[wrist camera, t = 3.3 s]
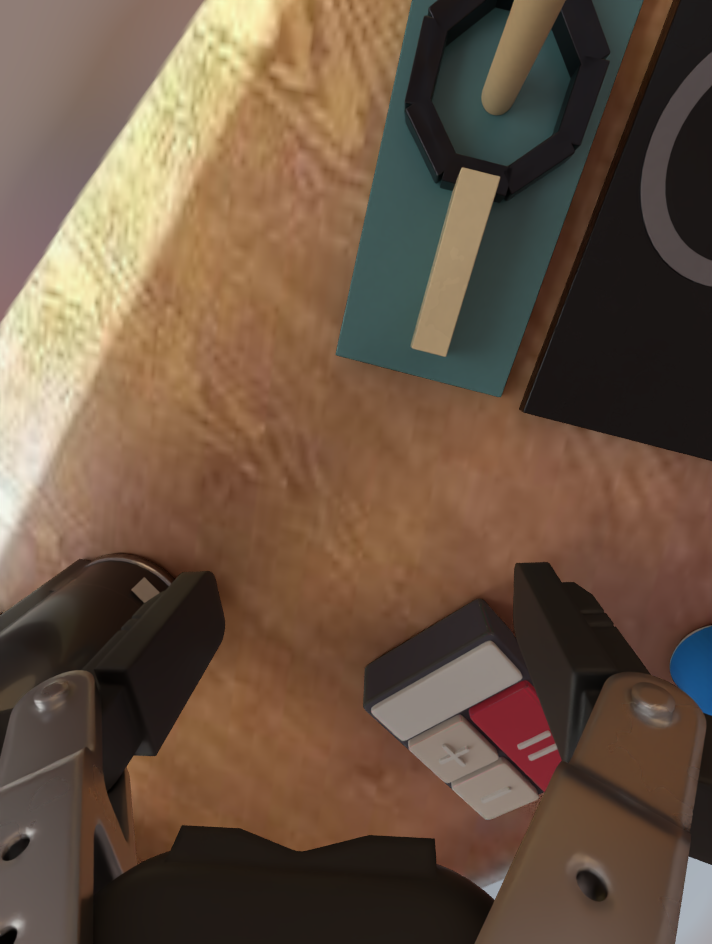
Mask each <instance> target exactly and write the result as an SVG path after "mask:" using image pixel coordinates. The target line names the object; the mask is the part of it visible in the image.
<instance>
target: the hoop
mask: <svg viewBox="0 0 712 944" xmlns="http://www.w3.org/2000/svg"><path fill="white" fill-rule="evenodd" d="M513 2H514V0H437V1H436V2H435V3H433V4H432V5H431V6H430V7H429V8H428V16H424V18H423V21H422V26H421V30H420V35H419V39H418V44H417V48H416V52H415V57H414V61H413V66H412V70H411V75H410V79H409V84H408V88H407V92H406V97H405V106H404V113H405V123H406V125H407V127H408V129H409V131H410V133H411V135H412V137H413V139H414V141H415V143H416V145H417V147H418V149H419V151H420V154H421V156H422V158H423V160H424V162H425V164H426V166H427V168H428V170H429V172H430V174H431V176H432V178H433V180H434V182H435V183H438V182H439V181H441V183H440V188H442V189H446V190H450V191H453V192H452V196H451V199H450V203H449V207H448V210H447V214H446V218H445V221H444V225H443V228H442V232H441V236H440V239H439V243H438V247H437V250H436V254H435V258H434V261H433V265H432V269H431V272H430V276H429V280H428V283H427V287H426V291H425V294H424V298H423V302H422V305H421V309H420V313H419V316H418V320H417V324H416V327H415V331H414V335H413V338H412V342H411V347H412V348H413V349H416V350H420V351H424V352H428V353H432V354H436V355H439V356H443V357H446V355H447V352H448V349H449V345H450V342H451V339H452V336H453V332H454V329H455V326H456V322H457V319H458V316H459V313H460V309H461V306H462V303H463V299H464V296H465V293H466V289H467V286H468V283H469V280H470V276H471V273H472V270H473V266H474V263H475V260H476V257H477V253H478V250H479V247H480V243H481V240H482V237H483V234H484V230H485V227H486V224H487V220H488V217H489V214H490V211H491V207H492V204H493V201H494V202H498V203H500V202H501V201H502V200H503V199H505V201H508V200H510V199H511V198H513V197H514V196H516V195H517V194H519V193H520V192H522V191H523V190H525V189H526V188H528V187H529V186H531V185H532V184H533V183H535V182H536V181H538V180H539V179H541V178H542V177H544V176H545V175H547V174H548V173H550V172H551V171H553V170H554V169H556V168H557V167H559V166H560V165H562V164H563V163H565V162H566V161H567V160H568V159H569V158H570V157H571V156H572V155H573V154H574V153H575V150H576V149H577V148H578V147H579V146H580V145H581V143H582V140H583V137H584V134H585V131H586V129H587V126H588V123H589V120H590V117H591V114H592V111H593V109H594V106H595V103H596V100H597V97H598V94H599V92H600V89H601V86H602V83H603V80H604V77H605V75H606V72H607V69H608V66H609V63H610V61H609V60H606V58H607V57H608V55H609V54H610V49H609V46H608V43H607V41H606V38H605V35H604V32H603V30H602V27H601V24H600V21H599V19H598V16H597V13H596V10H595V7H594V5H593V2H592V0H566V1H565V3H564V5H563V7H562V9H561V11H560V12H559V14H558V16H557V18H556V20H555V22H554V24H553V26H552V28H551V29H552V32H553V34H554V37H555V39H556V42H557V45H558V47H559V50H560V52H561V55H562V58H563V60H564V63H565V65H566V68H567V70H568V73H569V76H570V78H571V79H570V82H569V85H568V88H567V91H566V94H565V97H564V100H563V103H562V106H561V109H560V112H559V115H558V118H557V121H556V124H555V128H554V131H553V134H552V136H550V137H549V138H548V139H546V140H545V141H543V142H542V143H540V144H539V145H537V146H536V147H535V148H533V149H532V150H530V151H529V152H527V153H526V154H524V155H523V156H521V157H520V158H519V159H517V160H516V161H514V162H513V163H511V164H510V165H508V166H505V165H501V164H497V163H493V162H489V161H485V160H481V159H477V158H473V157H469V156H465V155H461V154H457V153H456V152H455V150H454V148H453V145H452V143H451V141H450V139H449V137H448V135H447V132H446V130H445V128H444V126H443V124H442V122H441V120H440V117H439V115H438V113H437V111H436V109H435V107H434V104H433V102H432V100H433V96H434V91H435V87H436V83H437V79H438V75H439V71H440V67H441V63H442V59H443V55H444V50H445V47H446V46H447V45H449V44H450V43H451V42H452V41H454V40H455V39H456V38H457V37H459V36H460V35H461V34H462V33H464V32H465V31H466V30H467V29H469V28H470V27H471V26H472V25H474V24H475V23H476V22H477V21H479V20H480V19H481V18H483V17H484V16H485V15H486V14H488V13H489V12H490V11H491V10H493V9H494V8H499V9H503V10H507V11H511V8H512V5H513Z"/></svg>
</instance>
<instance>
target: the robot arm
mask: <svg viewBox="0 0 712 944" xmlns="http://www.w3.org/2000/svg"><path fill="white" fill-rule="evenodd" d="M513 623H514V631H515V635H516V639H517V643H518V645H519V648H520V651H521V653H522V656H523V659H524V661H525V664H526V667H527V669H528V672H529V675H530V677H531V680H532V683H533V685H534V688H535V691H536V693H537V696H538V699H539V701H540V704H541V706H542V709H543V712H544V714H545V717H546V720H547V722H548V725H549V728H550V730H551V733H552V736H553V738H554V741H555V744H556V746H557V749H558V752H559V754H560V757H561V760H562V761H561V762H560V763H559V764H558V766H557V768H556V769H555V771H554V773H553V775H552V778H551V780H550V782H549V784H548V786H547V788H546V790H545V793H544V795H543V797H542V799H541V801H540V803H539V806H538V808H537V810H536V812H535V814H534V816H533V819H532V821H531V823H530V825H529V827H528V829H527V832H526V834H525V836H524V838H523V840H522V842H521V845H520V847H519V849H518V851H517V853H516V855H515V857H514V860H513V862H512V864H511V866H510V868H509V870H508V873H507V875H506V877H505V879H504V881H503V883H502V886H501V888H500V890H499V892H498V894H497V896H496V899H495V900H494V899H493V898H492V897H491V896H489V894H487V893H486V892H485V891H484V890H483V889H481V888H480V887H478V886H477V885H476V884H474V883H473V882H472V881H470V880H469V879H467V878H465V877H464V876H462V875H460V874H458V873H456V872H454V871H453V870H451V869H448V868H446V867H443V866H441V865H438V864H436V851H435V839H431V838H412V837H393V836H374V835H368V836H364V837H360V838H356V839H352V840H348V841H344V842H340V843H336V844H332V845H328V846H324V847H320V848H316V849H312V850H308V851H295V850H292V849H289V848H287V847H284V846H282V845H279V844H277V843H275V842H272V841H270V840H267V839H265V838H262V837H260V836H257V835H255V834H253V833H250V832H248V831H245V830H243V829H240V828H223V827H204V826H185V825H182V826H181V828H180V831H179V833H178V835H177V837H176V840H175V842H174V844H173V846H172V849H171V851H169V852H165V853H162V854H160V855H157V856H155V857H152V858H150V859H148V860H146V861H144V862H142V863H140V864H137V857H136V847H135V835H134V823H133V811H132V798H131V786H130V776H129V772H128V770H127V767H126V766H127V765H128V763H129V762H130V760H131V759H132V757H133V755H139V756H156V755H157V753H158V751H159V750H160V748H161V746H162V744H163V743H164V741H165V739H166V737H167V736H168V734H169V732H170V731H171V729H172V727H173V725H174V724H175V722H176V720H177V718H178V717H179V715H180V713H181V711H182V710H183V708H184V706H185V705H186V703H187V701H188V699H189V698H190V696H191V694H192V692H193V691H194V689H195V687H196V685H197V684H198V682H199V680H200V679H201V677H202V675H203V673H204V672H205V670H206V668H207V666H208V665H209V663H210V661H211V660H212V658H213V656H214V654H215V653H216V651H217V649H218V647H219V646H220V644H221V642H222V639H223V636H224V631H225V618H224V613H223V609H222V605H221V600H220V596H219V592H218V587H217V583H216V579H215V576H214V574H213V573H212V572H210V571H200V572H182V573H181V574H180V575H179V576H178V577H177V578H176V579H174V578H173V577H172V576H171V575H170V574H169V573H168V572H166V571H165V570H164V569H163V568H161V567H160V566H158V565H156V564H155V563H153V562H151V561H149V560H147V559H144V558H141V557H138V556H134V555H129V554H109V555H105V556H101V557H99V558H96V559H95V560H93V561H87V560H83V559H79V560H77V561H76V562H74V563H73V564H72V565H70V566H69V567H67V568H66V569H65V570H63V571H62V572H60V573H59V574H58V575H56V576H55V577H53V578H52V579H51V580H49V581H48V582H46V583H45V584H44V585H42V586H41V587H39V588H38V589H37V590H35V591H34V592H32V593H31V594H30V595H28V596H27V597H25V598H24V599H23V600H21V601H20V602H18V603H17V604H16V605H14V606H13V607H11V608H10V609H9V610H7V611H6V612H4V613H3V614H2V615H0V944H675V941H676V934H677V928H678V921H679V915H680V908H681V902H682V895H683V889H684V882H685V875H686V869H687V862H688V856H689V857H692V858H694V859H698V860H700V861H703V862H705V863H708V864H711V865H712V716H711V715H708V714H706V713H703V712H702V710H701V708H700V707H699V706H698V704H697V703H696V702H695V701H694V700H693V699H692V698H691V697H690V696H689V695H688V694H686V693H685V692H684V691H682V690H681V689H680V688H678V687H677V686H675V685H673V684H671V683H669V682H667V681H665V680H663V679H661V678H658V677H655V676H652V675H651V674H650V673H649V671H648V670H647V669H646V667H645V666H644V665H643V663H642V662H641V661H640V659H639V658H638V656H637V655H636V654H635V652H634V651H633V650H632V648H631V647H630V645H629V644H628V643H627V641H626V640H625V639H624V637H623V636H622V634H621V633H620V632H619V630H618V629H617V628H616V627H614V625H613V622H612V621H611V619H610V618H609V617H608V615H607V614H606V613H604V610H603V608H602V607H601V606H600V604H599V603H598V602H597V600H596V599H595V597H594V596H593V595H592V594H591V593H589V592H588V591H586V590H585V589H583V588H582V587H580V586H579V585H577V584H576V583H575V582H561V581H560V579H559V577H558V576H557V574H556V573H555V571H554V570H553V568H552V567H551V565H550V564H549V563H548V562H536V563H516V565H515V569H514V597H513Z"/></svg>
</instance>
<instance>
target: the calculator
mask: <svg viewBox="0 0 712 944" xmlns="http://www.w3.org/2000/svg"><path fill="white" fill-rule="evenodd" d="M363 707H364V709H365V710H366V711H367V712H368V713H369V714H370V715H371V716H372V717H373V718H374V719H376V720H377V721H378V722H379V723H380V724H381V725H382V726H383V727H384V728H385V729H387V730H388V731H389V732H390V733H391V734H392V735H393V736H394V737H395V738H396V739H398V740H399V741H400V742H401V743H402V744H403V745H404V746H405V747H406V748H407V749H408V750H410V751H411V752H412V753H413V754H414V755H415V756H416V757H417V758H418V759H419V760H421V761H422V762H423V763H424V764H425V765H426V766H427V767H428V768H429V769H430V770H432V771H433V772H434V773H435V774H436V775H437V776H438V777H439V778H440V779H441V780H442V781H444V782H445V783H446V784H447V785H448V786H449V787H450V788H451V789H452V790H453V791H455V792H456V793H457V794H458V795H459V796H460V797H461V798H462V799H463V800H464V801H466V802H467V803H468V804H469V805H470V806H471V807H472V808H473V809H474V810H475V811H476V812H478V813H479V814H480V815H481V816H482V817H483V818H484V819H486V820H490V819H493V818H495V817H498V816H500V815H502V814H505V813H507V812H509V811H512V810H514V809H516V808H519V807H521V806H523V805H526V804H528V803H530V802H533V801H535V800H537V799H538V798H539V796H538V794H541V793H543V792H545V790H546V788H547V786H548V784H549V782H550V780H551V778H552V775H553V773H554V771H555V769H556V768H557V766H558V764H559V763H560V762H561V761H562V760H561V757H560V754H559V752H558V749H557V746H556V744H555V741H554V738H553V736H552V733H551V730H550V728H549V725H548V722H547V720H546V717H545V714H544V712H543V709H542V706H541V704H540V701H539V699H538V696H537V693H536V691H535V688H534V685H533V683H532V680H531V677H530V675H529V672H528V669H527V667H526V664H525V661H524V659H523V656H522V653H521V651H520V648H519V645H518V643H517V639H516V638H515V636H514V635H513V633H512V632H511V630H510V629H509V628H508V627H507V626H506V625H505V623H504V622H503V621H502V620H501V619H500V618H499V617H498V616H497V614H496V613H495V612H494V611H493V610H492V609H491V608H490V607H489V605H488V604H487V603H486V602H485V601H484V600H482V599H476V600H474V601H472V602H471V603H469V604H467V605H466V606H464V607H462V608H461V609H459V610H457V611H456V612H454V613H453V614H451V615H449V616H448V617H446V618H444V619H443V620H441V621H439V622H438V623H436V624H434V625H433V626H431V627H429V628H428V629H426V630H425V631H423V632H421V633H420V634H418V635H416V636H415V637H413V638H411V639H410V640H408V641H406V642H405V643H403V644H401V645H400V646H398V647H397V648H395V649H393V650H392V651H390V652H388V653H387V654H385V655H383V656H382V657H380V658H378V659H377V660H375V661H373V662H372V663H370V664H369V665H367V666H366V668H365V679H364V699H363Z"/></svg>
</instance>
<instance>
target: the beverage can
mask: <svg viewBox="0 0 712 944" xmlns="http://www.w3.org/2000/svg"><path fill="white" fill-rule="evenodd" d="M670 673H671V676H672V679H673V680H674V682H675V684H676V685H677V686H678V687H679V688H680V689H681V690H682V691H684V692H685V693H686V694H688V695H689V696H690V697H691V698H692V699H693V700H694V701H695V702H696V703H697V704H698V706H699V707H700V708H701V710H702V712H703V713H706V714H708V715H711V716H712V625H710V626H706V627H702V628H700V629H697V630H695V631H693V632H691V633H690V634H688V635H687V636H686V637H685V638H684V639H683V640H682V641H681V642H680V643H679V645H678V646H677V647H676V649H675V650H674V652H673V654H672V657H671V660H670Z"/></svg>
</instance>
